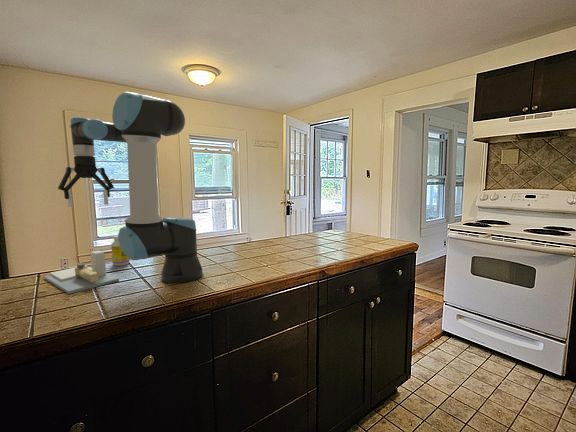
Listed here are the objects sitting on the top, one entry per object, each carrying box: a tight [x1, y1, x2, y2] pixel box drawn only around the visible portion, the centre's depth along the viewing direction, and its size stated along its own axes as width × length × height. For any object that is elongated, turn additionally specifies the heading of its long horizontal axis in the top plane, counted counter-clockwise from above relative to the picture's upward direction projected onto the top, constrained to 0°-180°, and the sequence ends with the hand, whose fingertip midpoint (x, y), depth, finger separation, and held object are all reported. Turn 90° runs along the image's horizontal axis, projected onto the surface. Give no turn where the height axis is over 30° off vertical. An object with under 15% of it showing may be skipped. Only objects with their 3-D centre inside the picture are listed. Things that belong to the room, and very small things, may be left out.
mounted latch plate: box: [43, 250, 120, 295], centre depth 113 cm, size 26×16×10 cm, turn 53°
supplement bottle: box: [111, 234, 130, 267], centre depth 134 cm, size 7×7×13 cm
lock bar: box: [74, 265, 99, 282], centre depth 110 cm, size 14×4×3 cm, turn 53°
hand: (89, 205), depth 130 cm, fingers open, 13 cm apart
